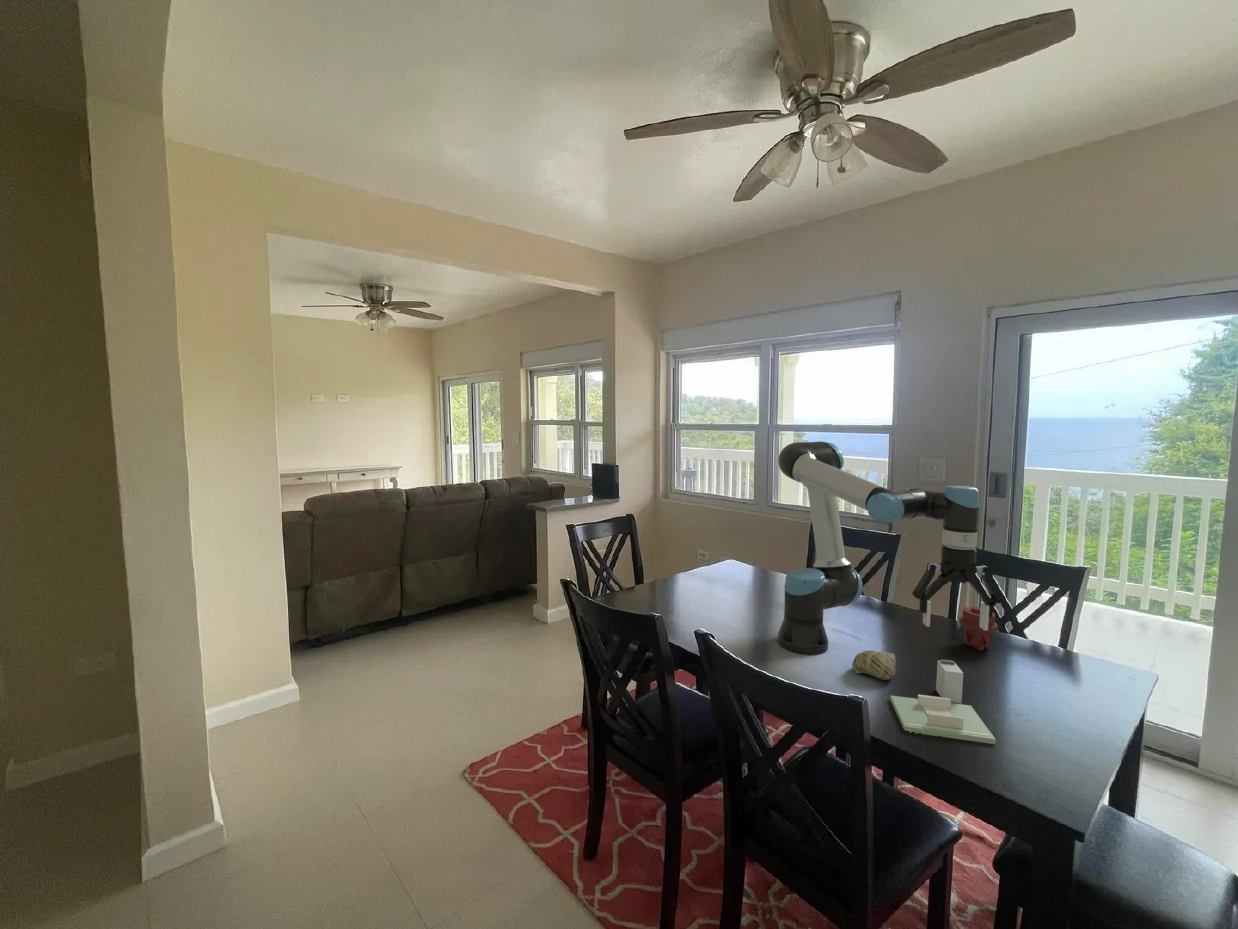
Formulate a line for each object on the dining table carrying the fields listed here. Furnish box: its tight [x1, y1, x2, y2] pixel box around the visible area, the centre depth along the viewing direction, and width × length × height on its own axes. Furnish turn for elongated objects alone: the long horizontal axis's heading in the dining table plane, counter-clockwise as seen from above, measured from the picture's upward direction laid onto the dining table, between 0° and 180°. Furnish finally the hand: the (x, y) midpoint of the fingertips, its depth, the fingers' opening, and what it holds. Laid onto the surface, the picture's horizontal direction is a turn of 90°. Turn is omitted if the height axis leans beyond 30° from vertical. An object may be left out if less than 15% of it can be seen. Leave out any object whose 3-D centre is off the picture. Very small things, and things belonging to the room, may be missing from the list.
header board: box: [889, 694, 997, 745], centre depth 124 cm, size 18×14×4 cm
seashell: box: [851, 650, 897, 681], centre depth 146 cm, size 10×10×10 cm
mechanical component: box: [958, 605, 998, 652], centre depth 165 cm, size 12×10×10 cm
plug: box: [935, 659, 964, 704], centre depth 135 cm, size 4×6×9 cm, turn 165°
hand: (954, 626), depth 136 cm, fingers open, 13 cm apart
